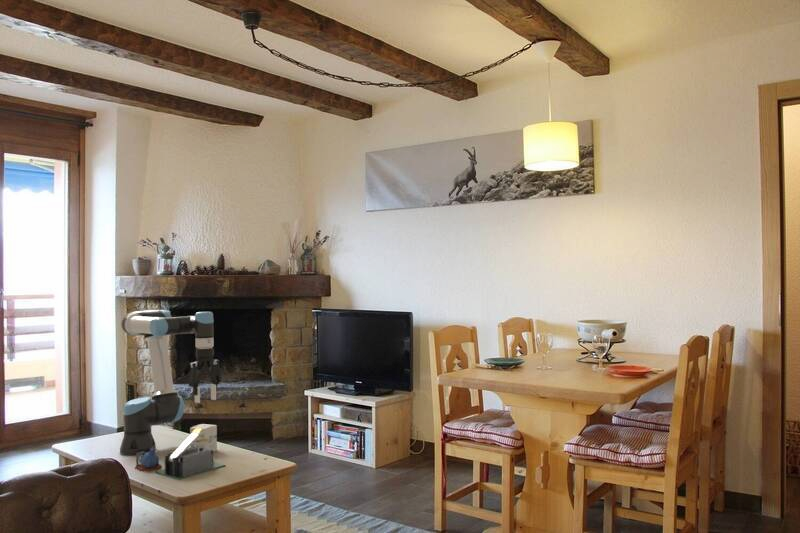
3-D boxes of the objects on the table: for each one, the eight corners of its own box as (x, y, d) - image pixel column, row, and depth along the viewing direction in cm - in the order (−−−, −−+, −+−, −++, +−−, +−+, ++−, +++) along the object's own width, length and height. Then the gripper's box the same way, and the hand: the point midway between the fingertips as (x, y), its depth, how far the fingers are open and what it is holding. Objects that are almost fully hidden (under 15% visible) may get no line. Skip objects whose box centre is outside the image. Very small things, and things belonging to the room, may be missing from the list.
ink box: (189, 453, 292) (189, 427, 292) (202, 449, 300) (201, 423, 300) (205, 455, 289) (204, 428, 289) (217, 450, 297) (217, 424, 297)
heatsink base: (155, 473, 263) (155, 453, 263) (202, 460, 280) (201, 442, 280) (178, 479, 253) (178, 459, 253) (225, 466, 270) (225, 447, 270)
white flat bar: (174, 463, 257) (172, 460, 256) (168, 462, 260) (166, 459, 259) (204, 431, 268) (202, 428, 268) (198, 430, 271) (196, 427, 270)
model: (166, 468, 270) (165, 445, 270) (144, 473, 263) (144, 450, 264) (152, 463, 278) (151, 441, 278) (130, 468, 271) (130, 445, 272)
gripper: (189, 350, 271) (190, 405, 271) (229, 345, 288) (230, 398, 287) (178, 349, 276) (179, 404, 275) (218, 345, 292) (219, 396, 292)
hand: (205, 401), depth 281 cm, fingers open, 8 cm apart
